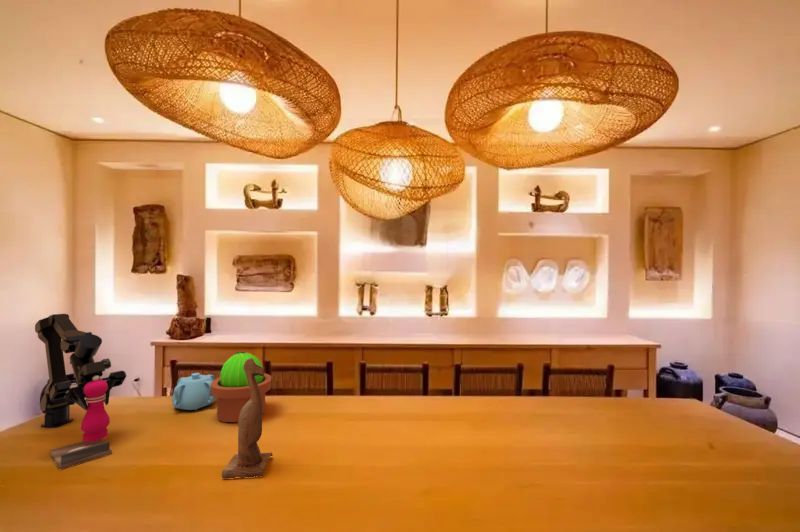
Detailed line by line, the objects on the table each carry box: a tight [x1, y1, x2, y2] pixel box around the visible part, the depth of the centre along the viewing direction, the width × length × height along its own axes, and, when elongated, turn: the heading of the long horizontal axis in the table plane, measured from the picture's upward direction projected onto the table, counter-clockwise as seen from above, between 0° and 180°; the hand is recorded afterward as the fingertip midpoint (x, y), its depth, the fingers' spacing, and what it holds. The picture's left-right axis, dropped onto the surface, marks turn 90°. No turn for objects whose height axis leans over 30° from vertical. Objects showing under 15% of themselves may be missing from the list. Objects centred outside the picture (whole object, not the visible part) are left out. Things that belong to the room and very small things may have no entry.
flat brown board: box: [49, 439, 113, 470], centre depth 114 cm, size 14×12×4 cm
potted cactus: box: [211, 351, 272, 423], centre depth 146 cm, size 22×22×25 cm
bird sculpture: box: [221, 358, 274, 479], centre depth 107 cm, size 11×12×32 cm
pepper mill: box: [80, 375, 111, 442], centre depth 118 cm, size 7×7×20 cm
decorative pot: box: [171, 372, 217, 411], centre depth 154 cm, size 16×16×14 cm
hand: (97, 406), depth 117 cm, fingers closed on pepper mill, 5 cm apart
